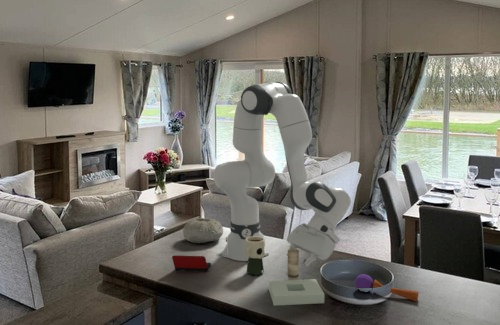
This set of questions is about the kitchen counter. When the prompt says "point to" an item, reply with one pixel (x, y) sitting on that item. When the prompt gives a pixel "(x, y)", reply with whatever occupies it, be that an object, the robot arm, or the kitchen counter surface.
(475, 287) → the kitchen counter surface
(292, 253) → the beech peg
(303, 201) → the robot arm
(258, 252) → the character mug
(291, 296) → the sage board
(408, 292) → the purple and orange maraca
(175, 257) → the handheld game console
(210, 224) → the decorative shell
